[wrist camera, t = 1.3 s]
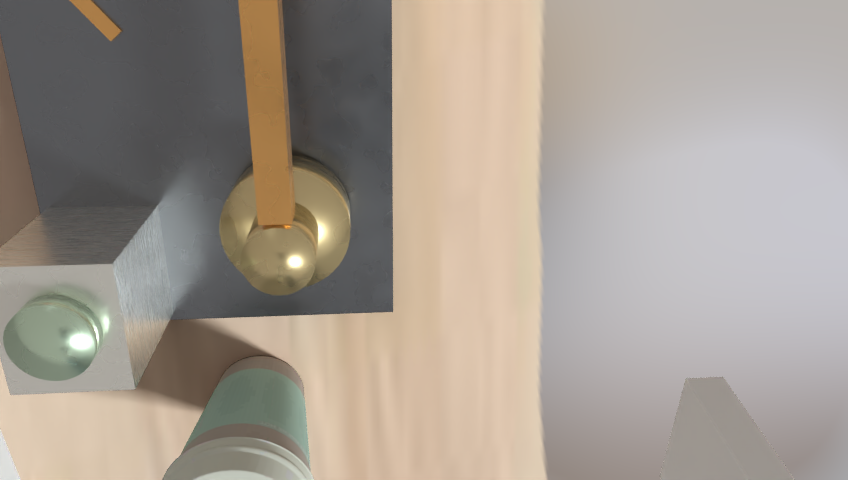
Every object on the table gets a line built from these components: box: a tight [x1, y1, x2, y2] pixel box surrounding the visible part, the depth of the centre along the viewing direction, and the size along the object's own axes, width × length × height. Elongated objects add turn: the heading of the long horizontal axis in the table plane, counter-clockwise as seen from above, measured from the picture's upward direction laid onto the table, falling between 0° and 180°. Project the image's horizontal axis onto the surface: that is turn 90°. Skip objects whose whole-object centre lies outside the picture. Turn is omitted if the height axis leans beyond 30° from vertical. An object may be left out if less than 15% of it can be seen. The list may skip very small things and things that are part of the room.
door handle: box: [219, 0, 350, 295], centre depth 33 cm, size 20×7×7 cm, turn 179°
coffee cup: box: [163, 356, 314, 480], centre depth 41 cm, size 8×8×12 cm
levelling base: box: [0, 0, 393, 395], centre depth 35 cm, size 20×20×11 cm
